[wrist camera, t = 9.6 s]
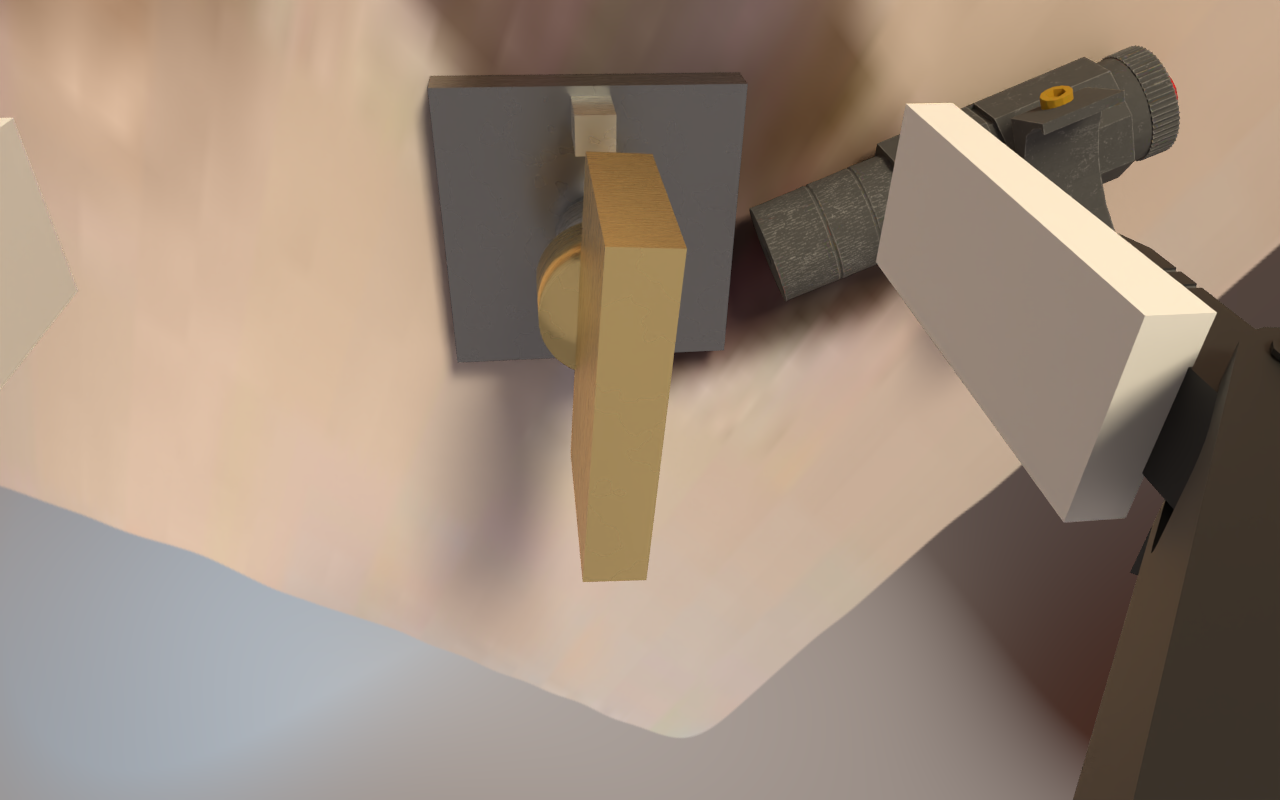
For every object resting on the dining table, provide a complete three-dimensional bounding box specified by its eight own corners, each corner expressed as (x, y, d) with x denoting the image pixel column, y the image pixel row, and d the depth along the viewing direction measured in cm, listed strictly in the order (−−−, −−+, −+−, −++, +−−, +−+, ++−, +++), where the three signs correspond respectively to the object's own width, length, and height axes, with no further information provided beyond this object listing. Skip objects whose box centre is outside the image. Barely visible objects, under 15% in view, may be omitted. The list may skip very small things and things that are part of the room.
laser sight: (730, 158, 51) (772, 235, 43) (1127, -12, 48) (1252, 37, 40) (778, 297, 57) (824, 388, 49) (1137, 152, 54) (1249, 223, 46)
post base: (430, 76, 46) (419, 121, 41) (739, 72, 48) (770, 115, 43) (459, 344, 56) (454, 412, 50) (717, 333, 57) (740, 397, 52)
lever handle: (533, 408, 50) (541, 583, 40) (539, 117, 41) (551, 245, 30) (648, 407, 51) (686, 578, 41) (679, 124, 42) (738, 249, 31)
